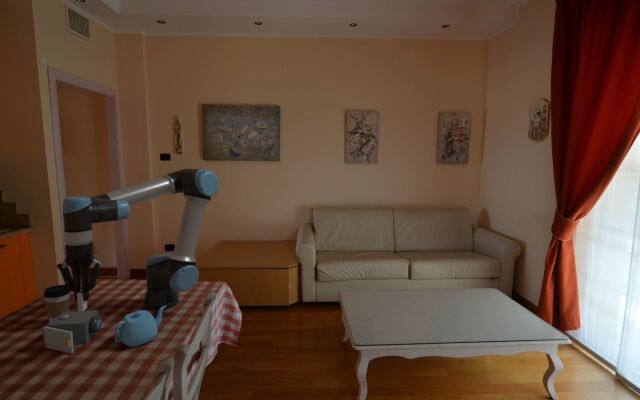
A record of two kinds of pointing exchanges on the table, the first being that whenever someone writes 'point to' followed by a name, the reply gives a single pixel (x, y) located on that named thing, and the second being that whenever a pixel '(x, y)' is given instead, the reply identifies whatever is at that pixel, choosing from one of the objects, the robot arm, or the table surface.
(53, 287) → the coffee cup
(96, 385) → the table surface
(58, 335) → the side door
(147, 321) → the teapot
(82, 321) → the camera case
